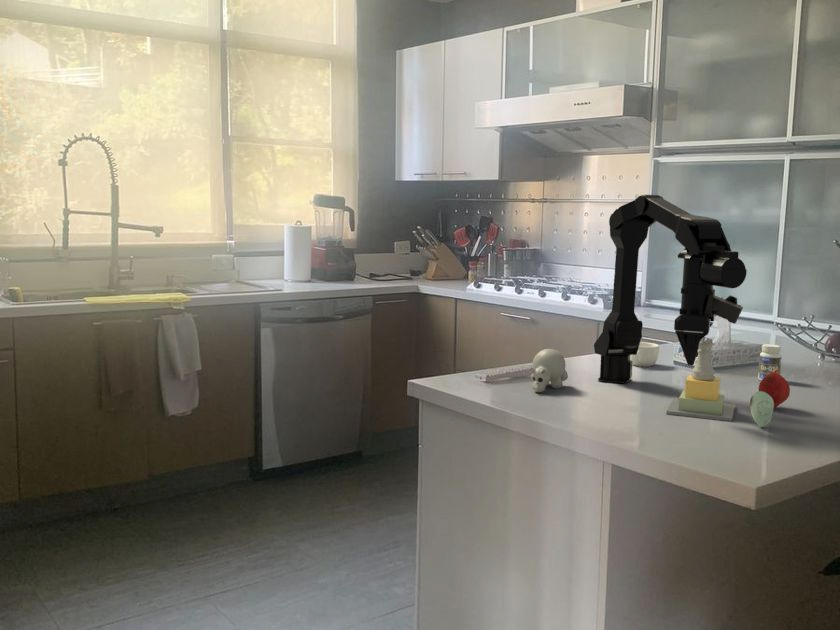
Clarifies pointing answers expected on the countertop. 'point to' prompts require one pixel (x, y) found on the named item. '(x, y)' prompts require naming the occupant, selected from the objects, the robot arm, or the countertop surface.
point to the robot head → (761, 408)
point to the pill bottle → (769, 360)
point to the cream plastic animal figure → (548, 370)
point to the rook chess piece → (704, 362)
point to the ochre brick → (702, 388)
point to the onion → (775, 387)
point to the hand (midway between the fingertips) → (692, 360)
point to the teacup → (645, 355)
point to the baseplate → (702, 415)
